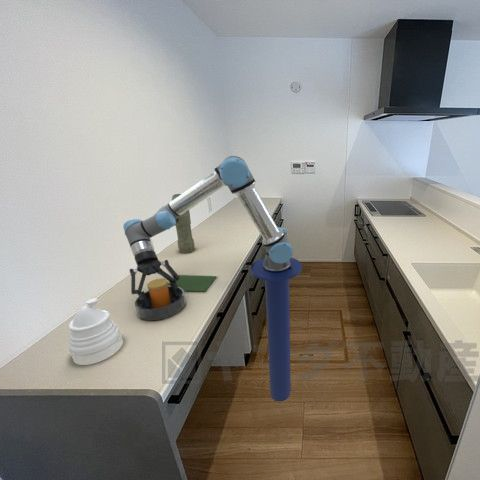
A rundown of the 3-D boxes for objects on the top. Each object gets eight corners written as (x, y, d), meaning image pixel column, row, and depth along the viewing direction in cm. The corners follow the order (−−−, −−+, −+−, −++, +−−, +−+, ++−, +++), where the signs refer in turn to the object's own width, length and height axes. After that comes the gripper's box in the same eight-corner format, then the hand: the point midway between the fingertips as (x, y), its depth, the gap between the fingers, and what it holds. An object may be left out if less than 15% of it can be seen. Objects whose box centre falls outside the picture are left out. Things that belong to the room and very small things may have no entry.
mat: (216, 277, 133) (216, 276, 133) (205, 292, 120) (204, 291, 120) (177, 276, 133) (176, 275, 133) (161, 290, 120) (161, 289, 120)
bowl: (193, 297, 116) (191, 286, 114) (172, 322, 100) (170, 310, 98) (154, 296, 116) (151, 285, 114) (127, 321, 100) (124, 309, 98)
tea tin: (175, 302, 111) (170, 278, 107) (166, 312, 104) (161, 287, 100) (158, 301, 111) (153, 278, 107) (148, 311, 104) (143, 287, 100)
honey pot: (119, 330, 95) (107, 287, 88) (126, 350, 86) (112, 304, 80) (71, 348, 86) (54, 301, 80) (73, 372, 78) (54, 322, 71)
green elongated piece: (199, 247, 168) (191, 193, 155) (188, 255, 157) (179, 197, 144) (186, 246, 169) (177, 192, 156) (174, 254, 158) (164, 196, 145)
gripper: (172, 251, 119) (190, 295, 114) (111, 265, 104) (129, 316, 99) (174, 243, 114) (193, 289, 109) (110, 257, 99) (129, 311, 94)
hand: (163, 302), depth 104 cm, fingers open, 10 cm apart
